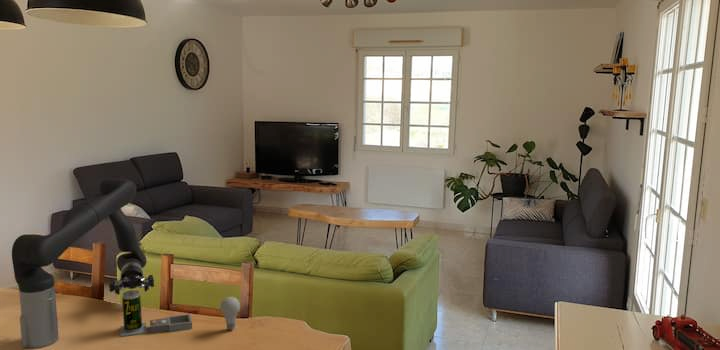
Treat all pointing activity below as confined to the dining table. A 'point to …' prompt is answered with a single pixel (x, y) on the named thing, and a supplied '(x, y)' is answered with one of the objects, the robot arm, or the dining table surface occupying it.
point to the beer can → (132, 311)
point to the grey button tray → (166, 325)
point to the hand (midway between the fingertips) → (132, 290)
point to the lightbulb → (230, 311)
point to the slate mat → (141, 331)
